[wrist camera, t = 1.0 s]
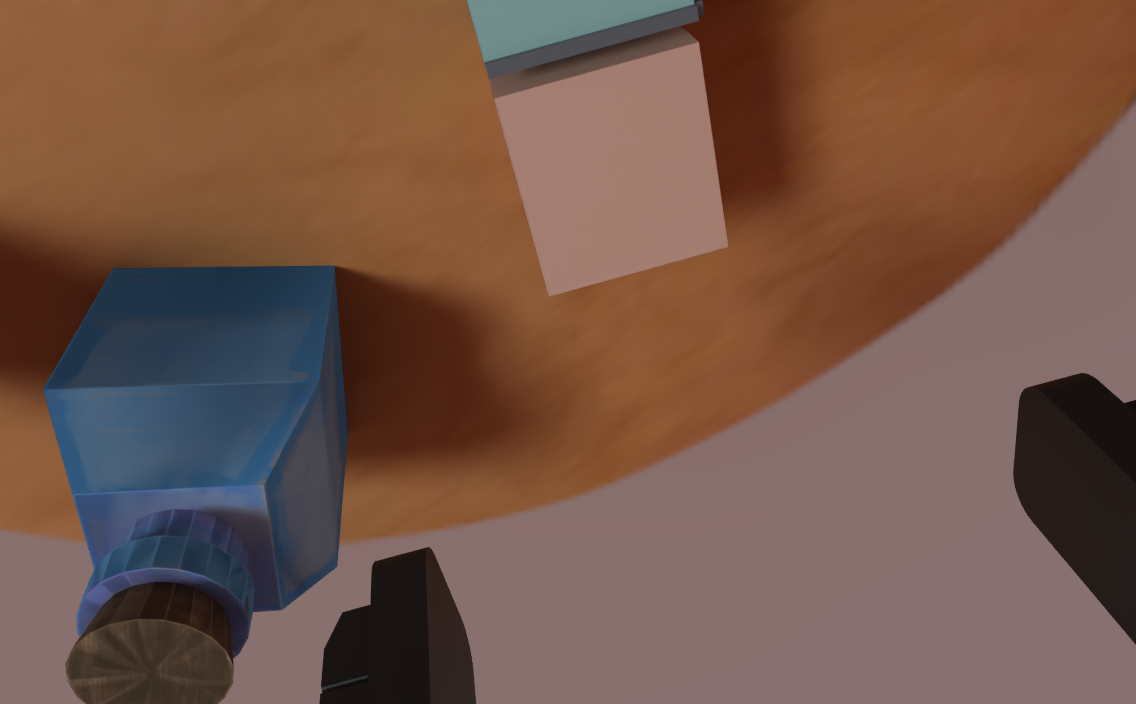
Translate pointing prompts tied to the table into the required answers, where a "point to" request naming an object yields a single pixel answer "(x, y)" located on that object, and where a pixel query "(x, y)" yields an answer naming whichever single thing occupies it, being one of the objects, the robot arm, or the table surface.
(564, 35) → the bar
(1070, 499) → the robot arm
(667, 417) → the table surface
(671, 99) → the stub
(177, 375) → the perfume bottle
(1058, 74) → the table surface
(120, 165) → the table surface
